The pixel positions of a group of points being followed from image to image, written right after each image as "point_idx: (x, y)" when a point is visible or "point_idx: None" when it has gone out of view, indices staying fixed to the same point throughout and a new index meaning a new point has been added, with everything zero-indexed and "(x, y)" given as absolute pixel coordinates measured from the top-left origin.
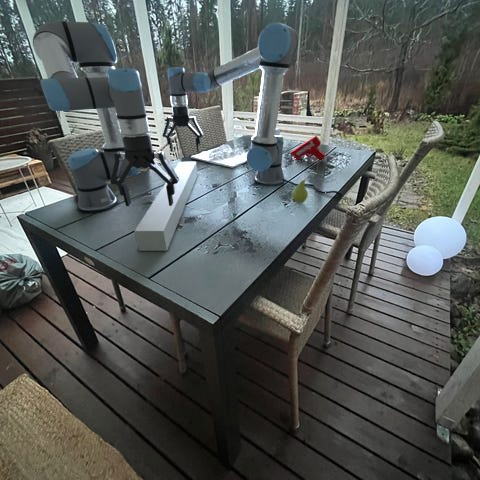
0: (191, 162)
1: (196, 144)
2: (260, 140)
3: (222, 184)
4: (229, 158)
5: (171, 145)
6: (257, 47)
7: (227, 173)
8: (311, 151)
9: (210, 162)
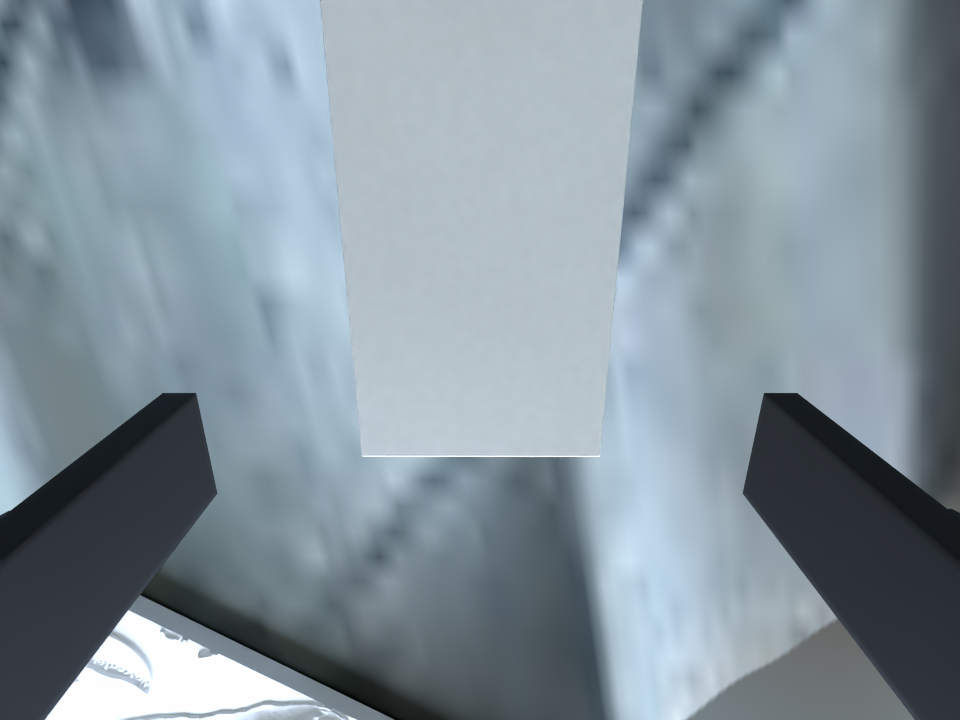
0: (421, 422)
1: (82, 482)
2: None
3: (18, 67)
4: None
5: (837, 496)
6: None
7: (83, 424)
8: None
9: (333, 692)
